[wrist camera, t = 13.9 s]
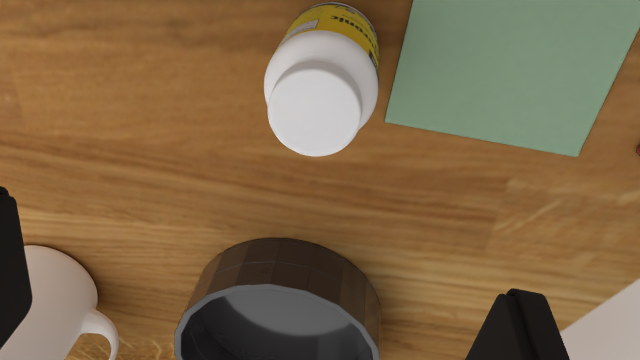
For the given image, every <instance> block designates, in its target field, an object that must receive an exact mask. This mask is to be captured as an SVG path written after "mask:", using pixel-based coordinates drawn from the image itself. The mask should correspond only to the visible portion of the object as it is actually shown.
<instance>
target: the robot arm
mask: <svg viewBox="0 0 640 360" xmlns="http://www.w3.org/2000/svg"><path fill="white" fill-rule="evenodd" d="M32 300H33V297H32V290H31V284H30V278H29V273H28V267H27V261H26V255H25V250H24V244H23V238H22V232H21V227H20V221H19V215H18V209H17V204H16V200H15V199H14V198H13V197H11V196H9V193H8V191H7V190H6V189H5V188H4V187H1V186H0V350H1V348H2V347H3V346H4V344H5V343H6V342H7V340H8V339H9V338H10V337H11V335H12V334H13V333H14V331H15V330H16V329H17V327H18V326H19V325H20V323H21V322H22V321H23V320H24V318H25V317H26V316H27V314H28V312H29V310H30V308H31V305H32ZM465 360H570V359H569V356H568V354H567V351H566V348H565V346H564V343H563V341H562V338H561V336H560V333H559V330H558V328H557V325H556V322H555V320H554V317H553V315H552V312H551V310H550V307H549V304H548V302H547V300H546V298H545V296H544V295H542V294H539V293H534V292H529V291H524V290H519V289H510V290H509V291H508V292H507V294H506V295H505V294H499V295H498V296H497V298H496V300H495V302H494V304H493V306H492V308H491V310H490V312H489V314H488V316H487V318H486V320H485V322H484V323H483V325H482V327H481V329H480V331H479V333H478V335H477V337H476V339H475V341H474V343H473V345H472V347H471V349H470V351H469V353H468V355H467V357H466V359H465Z"/></svg>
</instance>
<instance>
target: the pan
mask: <svg viewBox="0 0 640 360" xmlns="http://www.w3.org/2000/svg"><path fill="white" fill-rule="evenodd" d="M175 356H176V358H177V360H382V320H381V309H380V303H379V300H378V297H377V294H376V292H375V290H374V289H373V287H372V285H371V283H370V282H369V281H368V279H367V278H366V277H365V275H364V274H363V273H362V272H361V271H360V270H359V269H358V268H357V267H356V266H354V265H353V264H352V263H350V262H349V261H348V260H347V259H345V258H343V257H342V256H340V255H338V254H337V253H335V252H333V251H331V250H329V249H326V248H324V247H321V246H319V245H316V244H313V243H309V242H305V241H301V240H294V239H287V238H266V239H257V240H252V241H247V242H244V243H241V244H238V245H235V246H233V247H231V248H229V249H227V250H225V251H224V252H222V253H221V254H219V255H218V256H216V257H215V258H214V259H213V260H212V261H211V262H210V263H209V264H208V265H207V266H206V268H205V269H204V270H203V272H202V274H201V276H200V278H199V280H198V282H197V284H196V286H195V288H194V290H193V292H192V294H191V297H190V299H189V301H188V303H187V306H186V308H185V310H184V312H183V315H182V317H181V319H180V321H179V324H178V326H177V328H176V330H175Z"/></svg>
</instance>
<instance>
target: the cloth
mask: <svg viewBox="0 0 640 360" xmlns="http://www.w3.org/2000/svg"><path fill="white" fill-rule="evenodd" d="M639 27H640V0H413V2H412V6H411V11H410V15H409V19H408V23H407V27H406V32H405V36H404V40H403V44H402V48H401V52H400V57H399V61H398V65H397V69H396V73H395V78H394V82H393V86H392V90H391V94H390V98H389V103H388V107H387V111H386V115H385V119H384V122H387V123H393V124H398V125H404V126H409V127H415V128H420V129H426V130H431V131H437V132H442V133H448V134H453V135H458V136H464V137H469V138H475V139H480V140H486V141H491V142H497V143H502V144H508V145H513V146H518V147H524V148H529V149H535V150H540V151H546V152H551V153H557V154H562V155H568V156H573V157H578V154H579V152H580V150H581V148H582V146H583V144H584V142H585V140H586V138H587V136H588V134H589V132H590V129H591V127H592V125H593V123H594V121H595V119H596V117H597V115H598V113H599V111H600V109H601V106H602V104H603V102H604V100H605V98H606V96H607V94H608V92H609V90H610V88H611V86H612V84H613V81H614V79H615V77H616V75H617V73H618V71H619V69H620V67H621V65H622V63H623V61H624V58H625V56H626V54H627V52H628V50H629V48H630V46H631V44H632V42H633V40H634V38H635V35H636V33H637V31H638V29H639Z"/></svg>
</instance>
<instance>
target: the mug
mask: <svg viewBox="0 0 640 360" xmlns="http://www.w3.org/2000/svg"><path fill="white" fill-rule="evenodd" d="M24 250H25V255H26V261H27V267H28V273H29V278H30V284H31V290H32V297H33V300H32V305H31V308H30V310H29V312H28V314H27V316H26V317H25V318H24V320H23V321H22V322H21V323H20V325H19V326H18V327H17V329H16V330H15V331H14V333H13V334H12V335H11V337H10V338H9V339H8V340H7V342H6V343H5V344H4V346H3V347H2V348H1V350H0V360H64V359H65V358H66V356H67V355H68V353H69V352H70V350H71V348H72V347H73V345H74V344H75V342H76V341H77V339H78V338H79V336H80V335H81V334H82V333H97V334H101V335H103V336H105V337H106V338H107V339H108V340H109V342H110V344H111V355H110V358H109V360H115V358H116V355H117V352H118V347H119V336H118V332H117V329H116V327H115V325H114V324H113V323H112V321H111V320H110V319H109V318H108V317H106V316H105V315H104V314H102V313H101V312H99V311H97V310H95V309H96V306H97V300H98V297H97V289H96V286H95V284H94V281H93V280H92V278H91V276H90V275H89V274H88V272H87V271H86V270H85V269H84V268H83V267H82V266H81V265H80V264H79V263H78V262H77V261H75V260H74V259H73V258H71V257H69V256H68V255H66V254H64V253H62V252H60V251H57V250H55V249H52V248H48V247H43V246H36V245H26V246H24Z"/></svg>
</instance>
